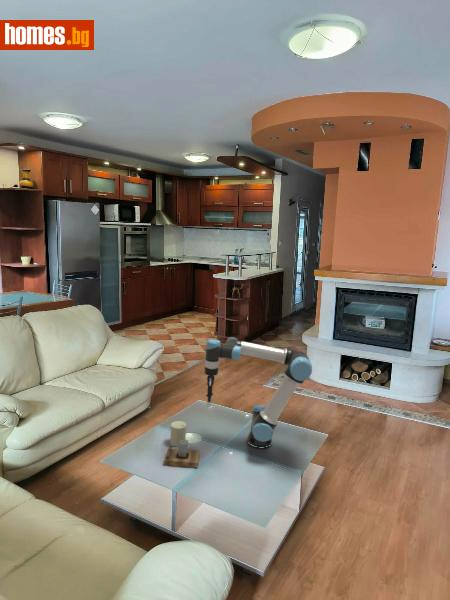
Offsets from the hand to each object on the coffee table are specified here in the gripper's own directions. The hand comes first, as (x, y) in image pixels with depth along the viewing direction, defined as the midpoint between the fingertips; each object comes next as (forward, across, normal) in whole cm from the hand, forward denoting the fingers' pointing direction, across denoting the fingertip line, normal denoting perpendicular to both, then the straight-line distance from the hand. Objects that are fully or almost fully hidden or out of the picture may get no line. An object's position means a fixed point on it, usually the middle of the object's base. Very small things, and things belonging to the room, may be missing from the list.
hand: (208, 406), depth 233 cm
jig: (+26, +14, -12) cm, 32 cm away
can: (+27, -4, -17) cm, 32 cm away
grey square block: (+26, +14, -12) cm, 32 cm away
